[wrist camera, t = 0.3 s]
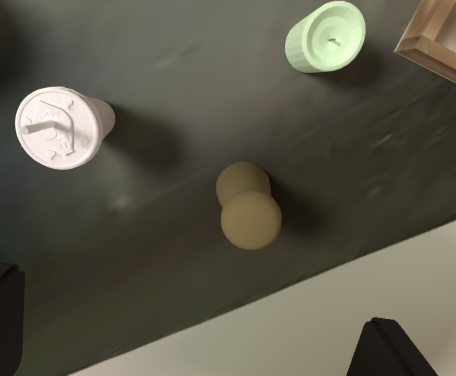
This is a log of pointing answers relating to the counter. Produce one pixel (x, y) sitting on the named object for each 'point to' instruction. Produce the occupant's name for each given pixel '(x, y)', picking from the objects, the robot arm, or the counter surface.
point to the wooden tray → (432, 38)
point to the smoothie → (62, 126)
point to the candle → (326, 38)
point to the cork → (247, 206)
